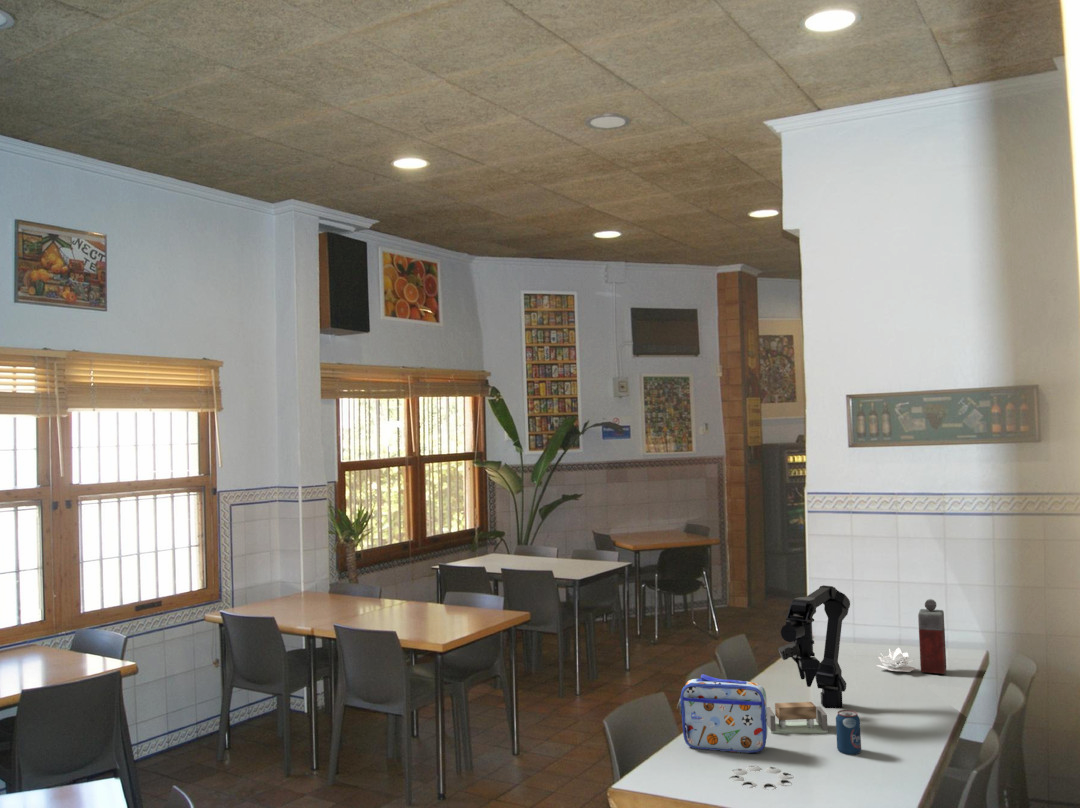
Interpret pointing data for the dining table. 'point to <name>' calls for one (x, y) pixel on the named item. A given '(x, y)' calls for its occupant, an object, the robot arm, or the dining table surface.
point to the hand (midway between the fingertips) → (805, 682)
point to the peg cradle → (798, 724)
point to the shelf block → (795, 711)
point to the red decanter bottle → (932, 639)
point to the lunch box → (724, 715)
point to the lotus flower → (896, 661)
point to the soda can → (848, 732)
